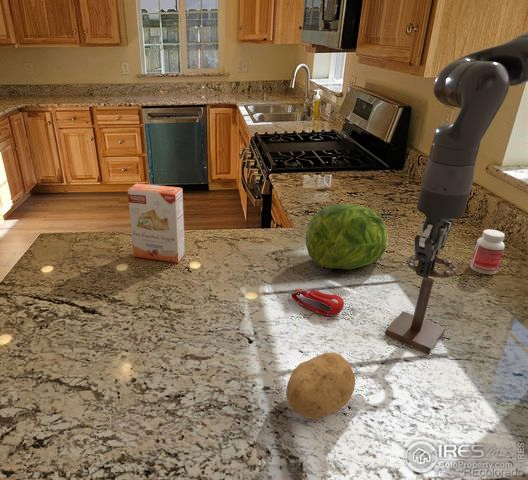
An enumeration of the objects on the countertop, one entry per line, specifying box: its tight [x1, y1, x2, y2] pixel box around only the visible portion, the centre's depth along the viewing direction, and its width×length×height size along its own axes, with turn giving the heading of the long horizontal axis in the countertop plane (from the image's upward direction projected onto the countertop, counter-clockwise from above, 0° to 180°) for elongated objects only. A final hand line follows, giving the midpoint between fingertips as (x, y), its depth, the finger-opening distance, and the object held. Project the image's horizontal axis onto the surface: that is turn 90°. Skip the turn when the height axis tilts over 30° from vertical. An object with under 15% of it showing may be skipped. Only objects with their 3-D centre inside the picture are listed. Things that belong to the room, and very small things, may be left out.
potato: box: [285, 351, 356, 420], centre depth 71 cm, size 10×14×8 cm
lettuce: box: [305, 203, 389, 270], centre depth 115 cm, size 18×23×19 cm
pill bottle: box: [469, 228, 506, 275], centre depth 112 cm, size 6×6×11 cm
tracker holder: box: [288, 288, 345, 316], centre depth 99 cm, size 12×4×10 cm
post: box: [384, 276, 446, 355], centre depth 87 cm, size 9×9×14 cm
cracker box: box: [127, 182, 186, 264], centre depth 119 cm, size 14×6×21 cm, turn 73°
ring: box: [406, 254, 459, 279], centre depth 83 cm, size 9×9×1 cm
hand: (424, 273), depth 80 cm, fingers closed
